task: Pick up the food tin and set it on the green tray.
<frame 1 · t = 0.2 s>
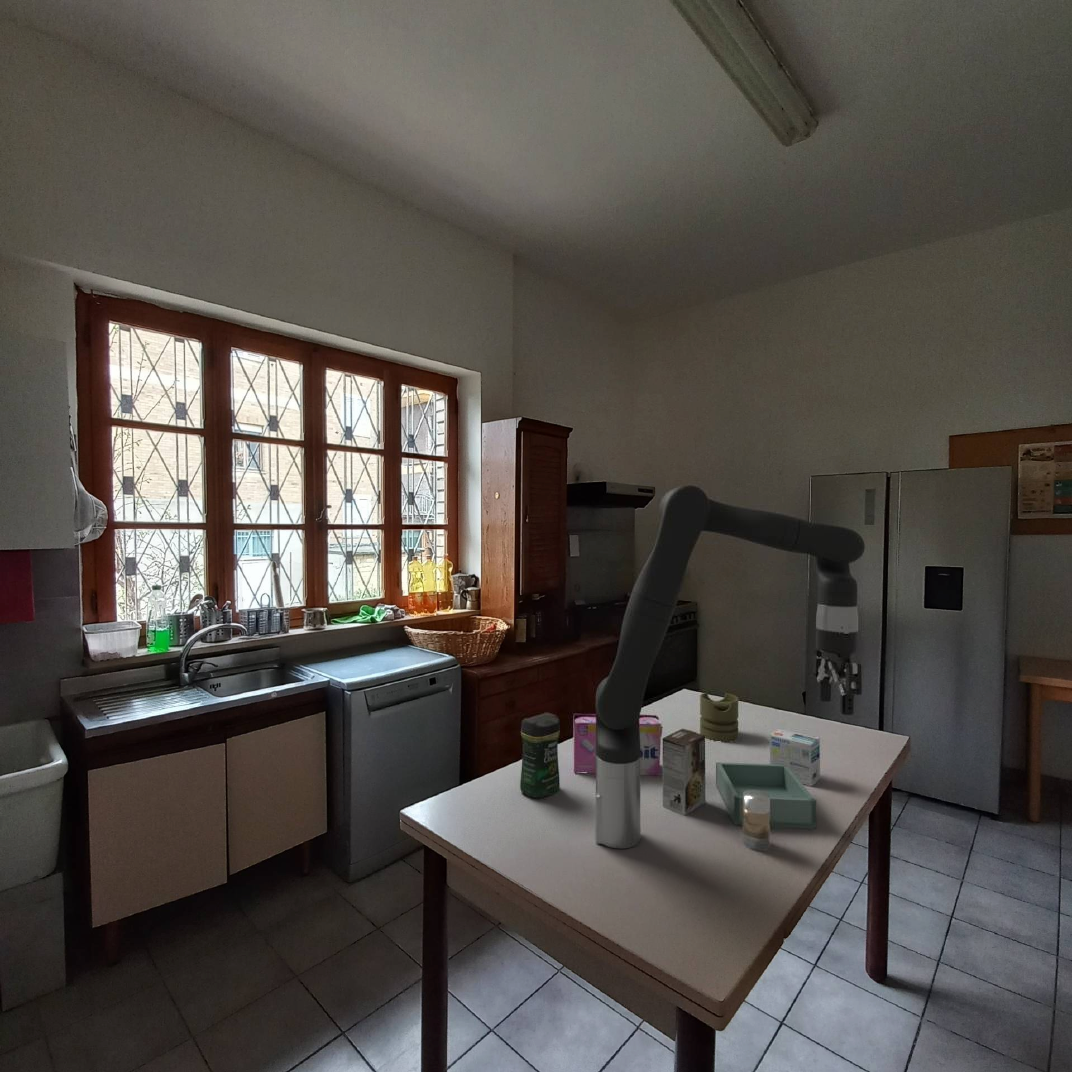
hand: (835, 707, 117), 28 cm above the table, tool pointing down, fingers open, 8 cm apart
piston: (719, 736, 181), on the table
food tin: (756, 844, 119), on the table
gum box: (615, 769, 156), on the table
coffee box: (683, 805, 136), on the table
green tray: (762, 805, 135), on the table
light bulb box: (794, 777, 151), on the table
coffee jar: (540, 791, 143), on the table
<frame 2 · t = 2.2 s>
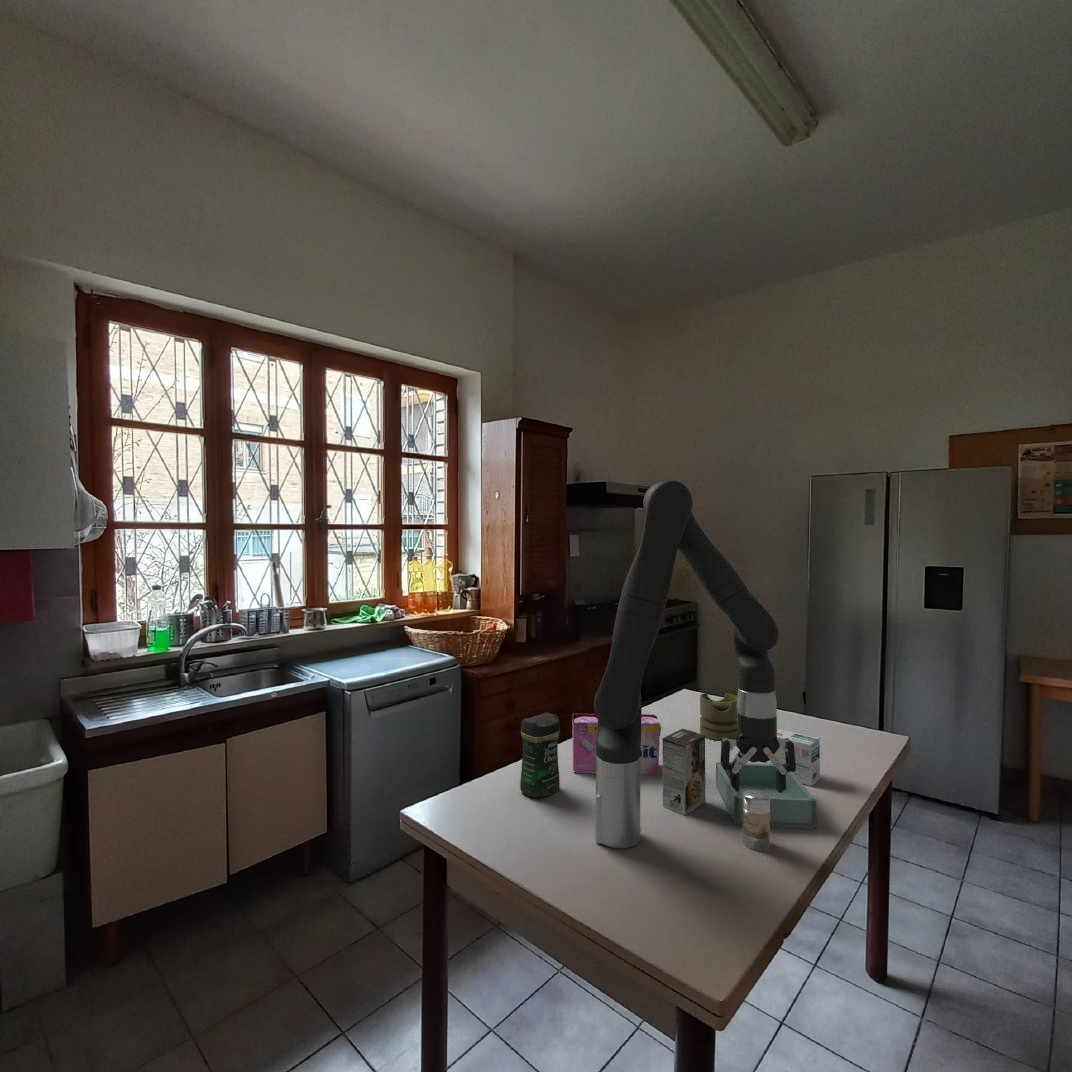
hand: (757, 790, 118), 11 cm above the table, tool pointing down, fingers open, 8 cm apart
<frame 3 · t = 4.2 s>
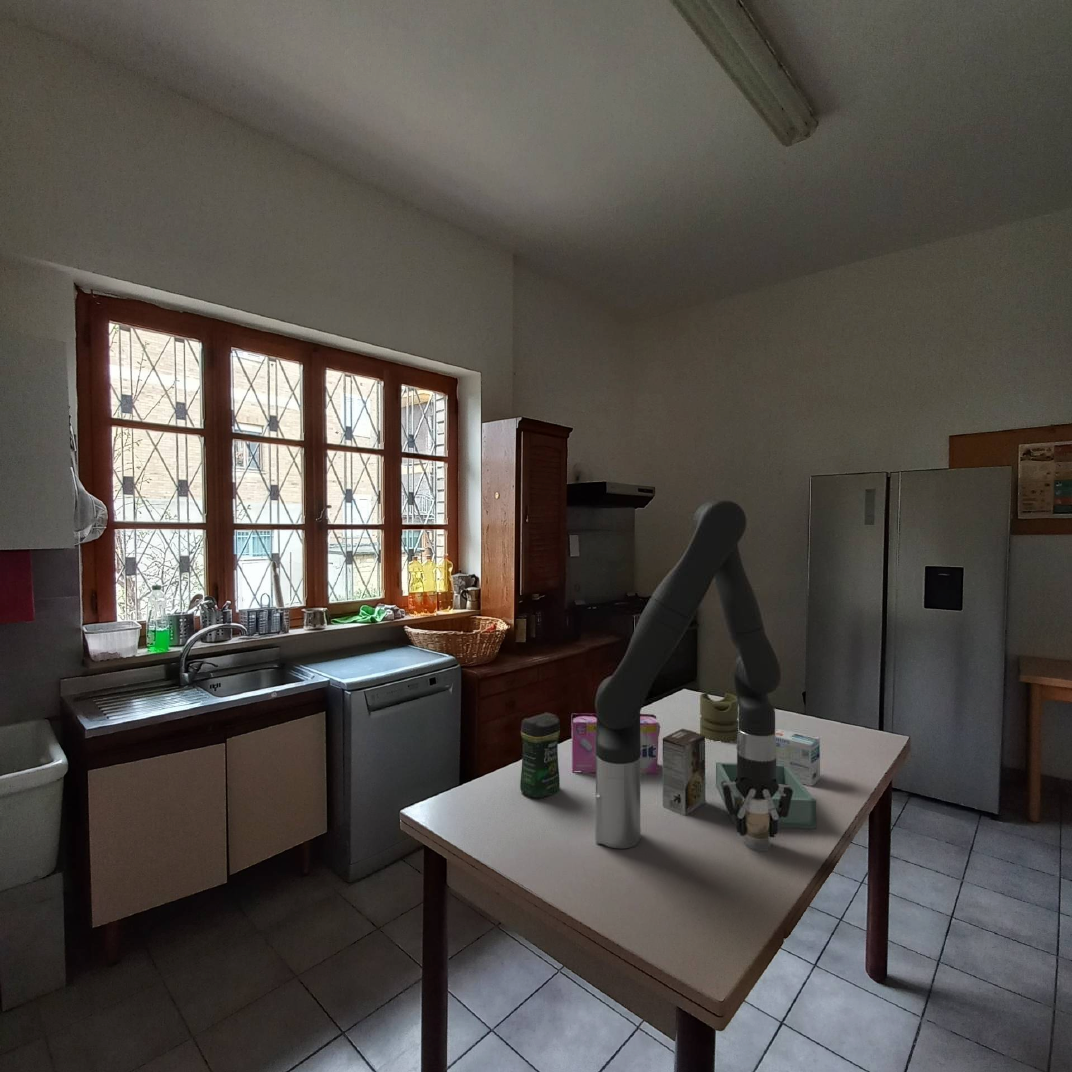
hand: (756, 834, 119), 2 cm above the table, tool pointing down, fingers closed on food tin, 5 cm apart
food tin: (756, 844, 119), on the table, touching gripper
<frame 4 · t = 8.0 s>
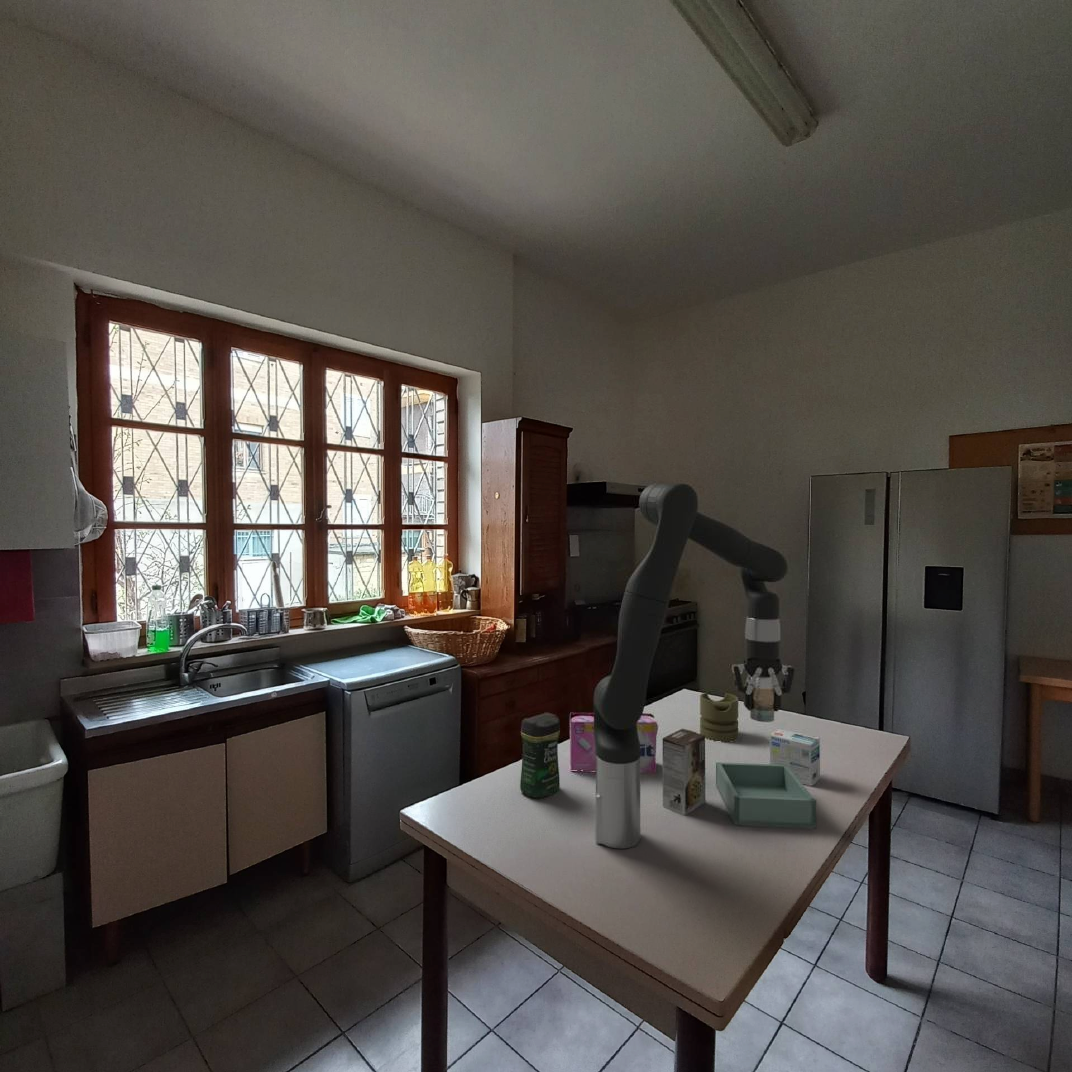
hand: (762, 709, 135), 22 cm above the table, tool pointing down, fingers closed on food tin, 5 cm apart
food tin: (762, 718, 135), point 20 cm above the table, touching gripper
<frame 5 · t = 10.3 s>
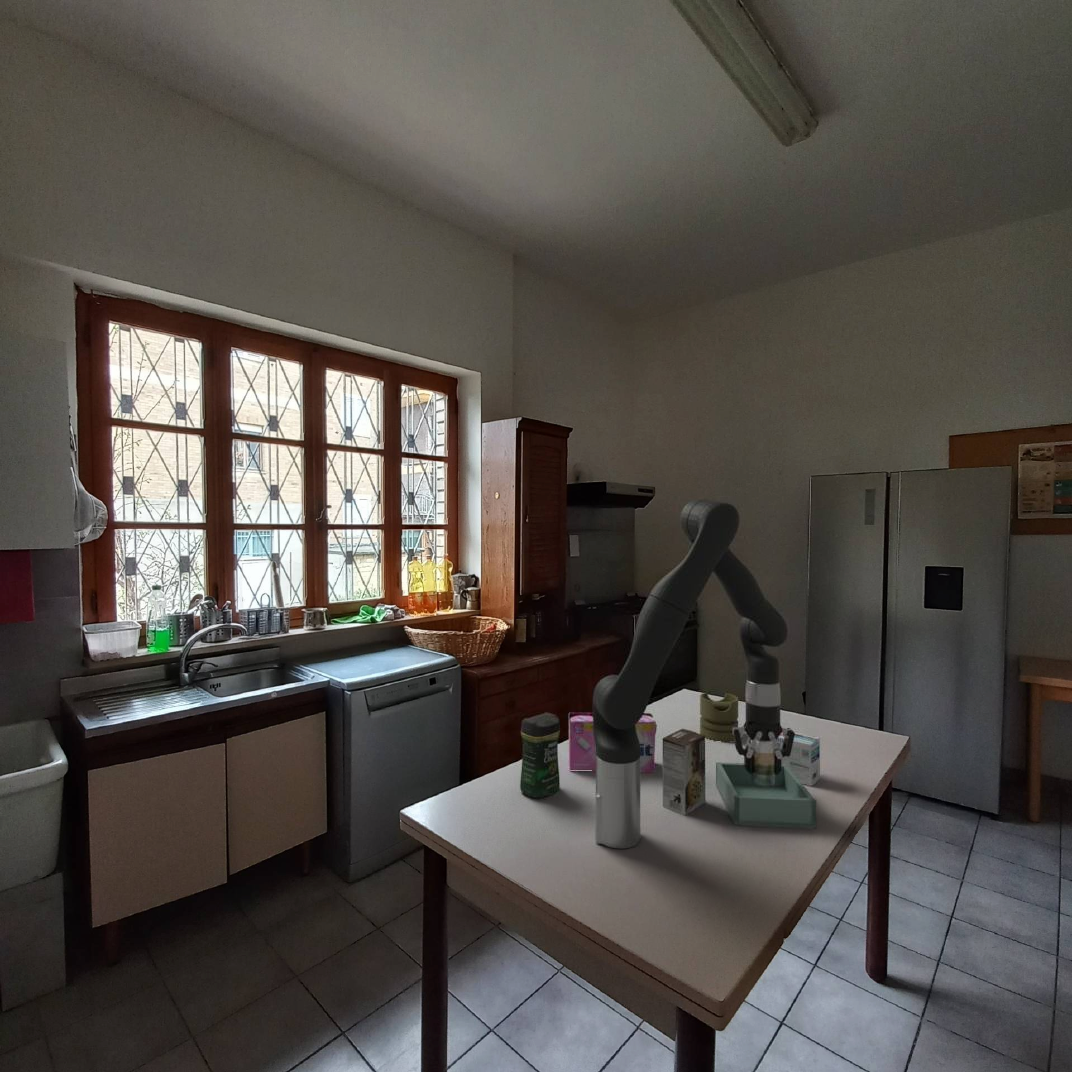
hand: (762, 772, 135), 8 cm above the table, tool pointing down, fingers closed on food tin, 5 cm apart
food tin: (762, 781, 135), point 6 cm above the table, touching gripper
when the fingers open (4 cm above the table, at t = 12.1 s): food tin drops 1 cm, resting on green tray.
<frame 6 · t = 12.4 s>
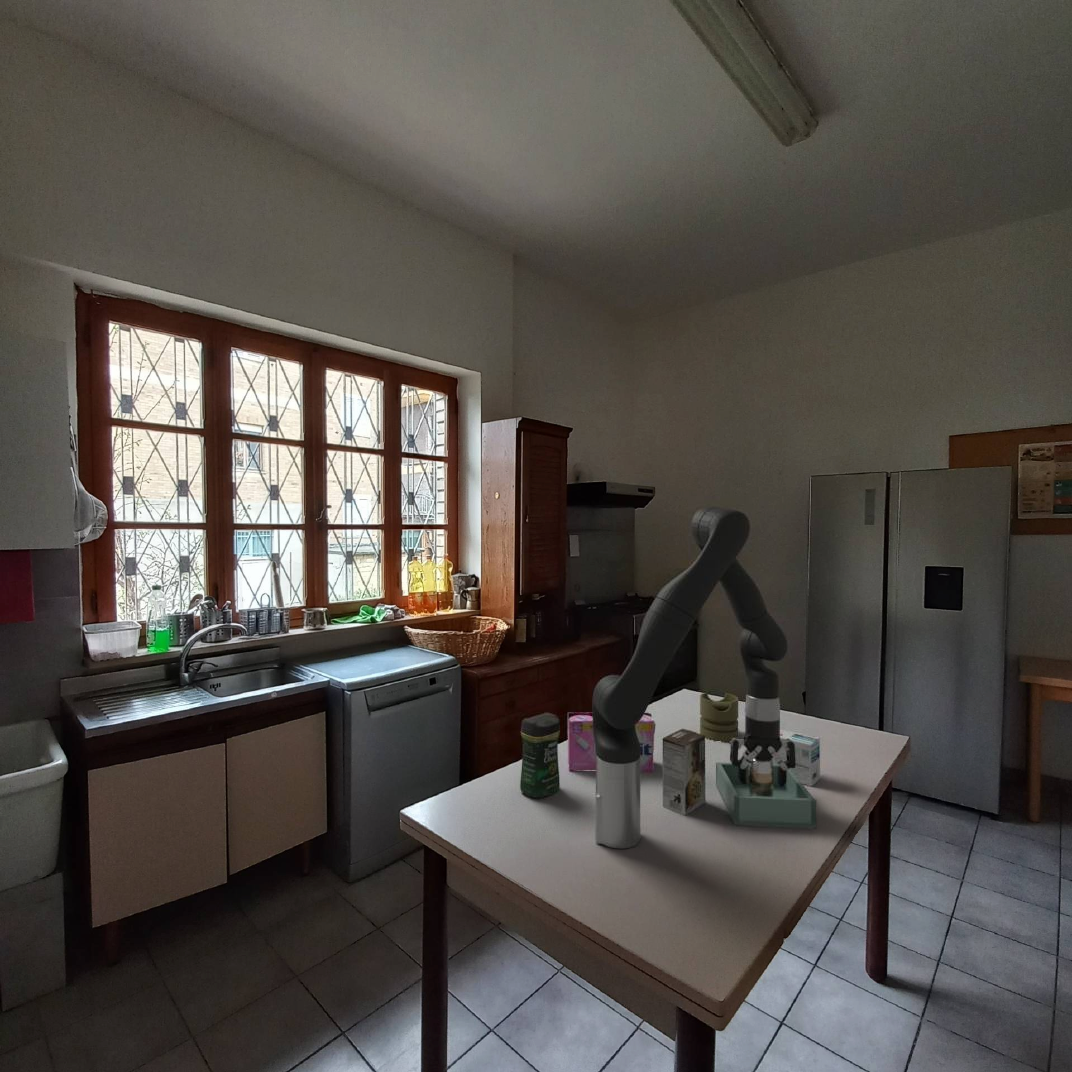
hand: (762, 784, 135), 5 cm above the table, tool pointing down, fingers open, 8 cm apart
food tin: (761, 801, 135), point 1 cm above the table, touching green tray
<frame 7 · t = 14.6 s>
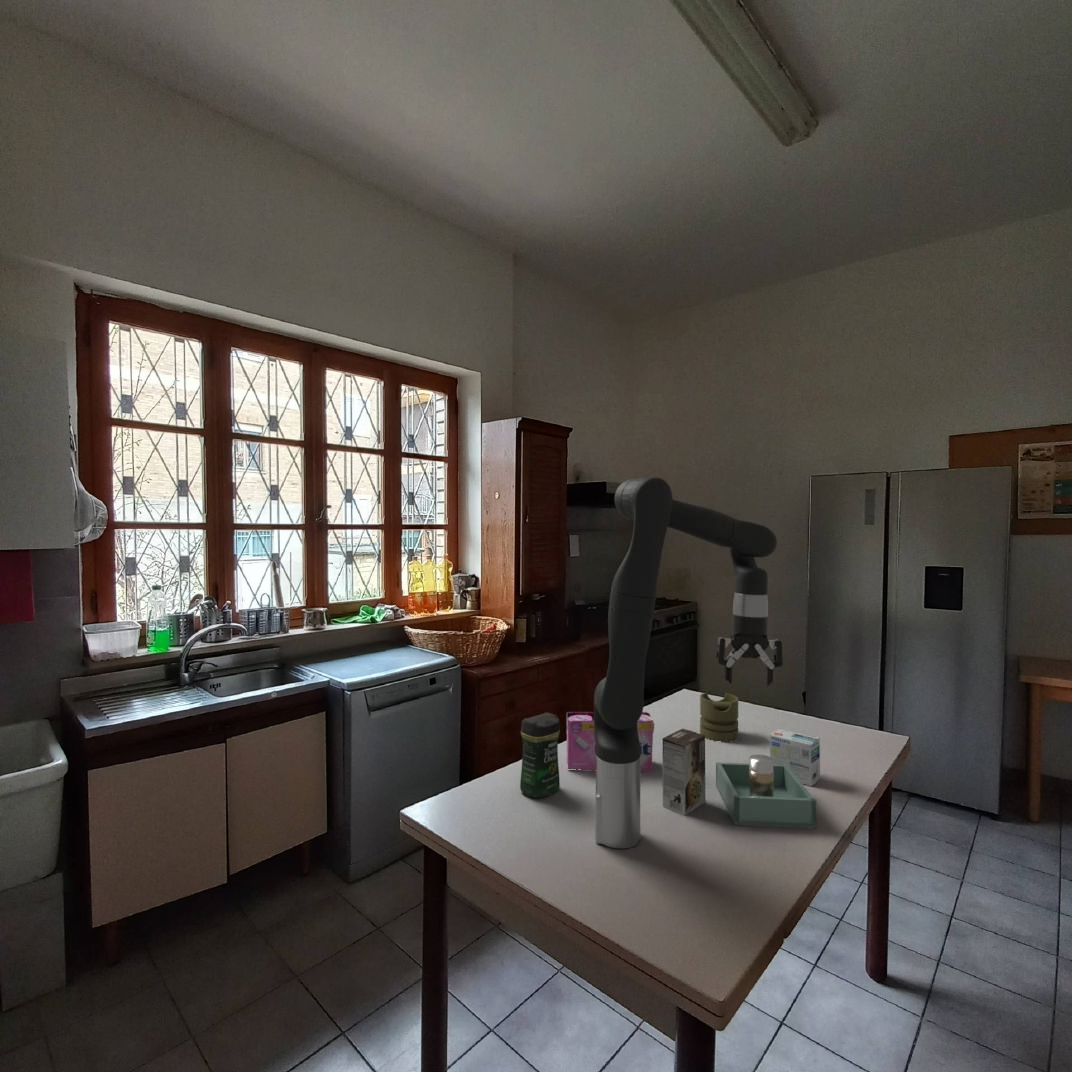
hand: (748, 683, 134), 29 cm above the table, tool pointing down, fingers open, 8 cm apart
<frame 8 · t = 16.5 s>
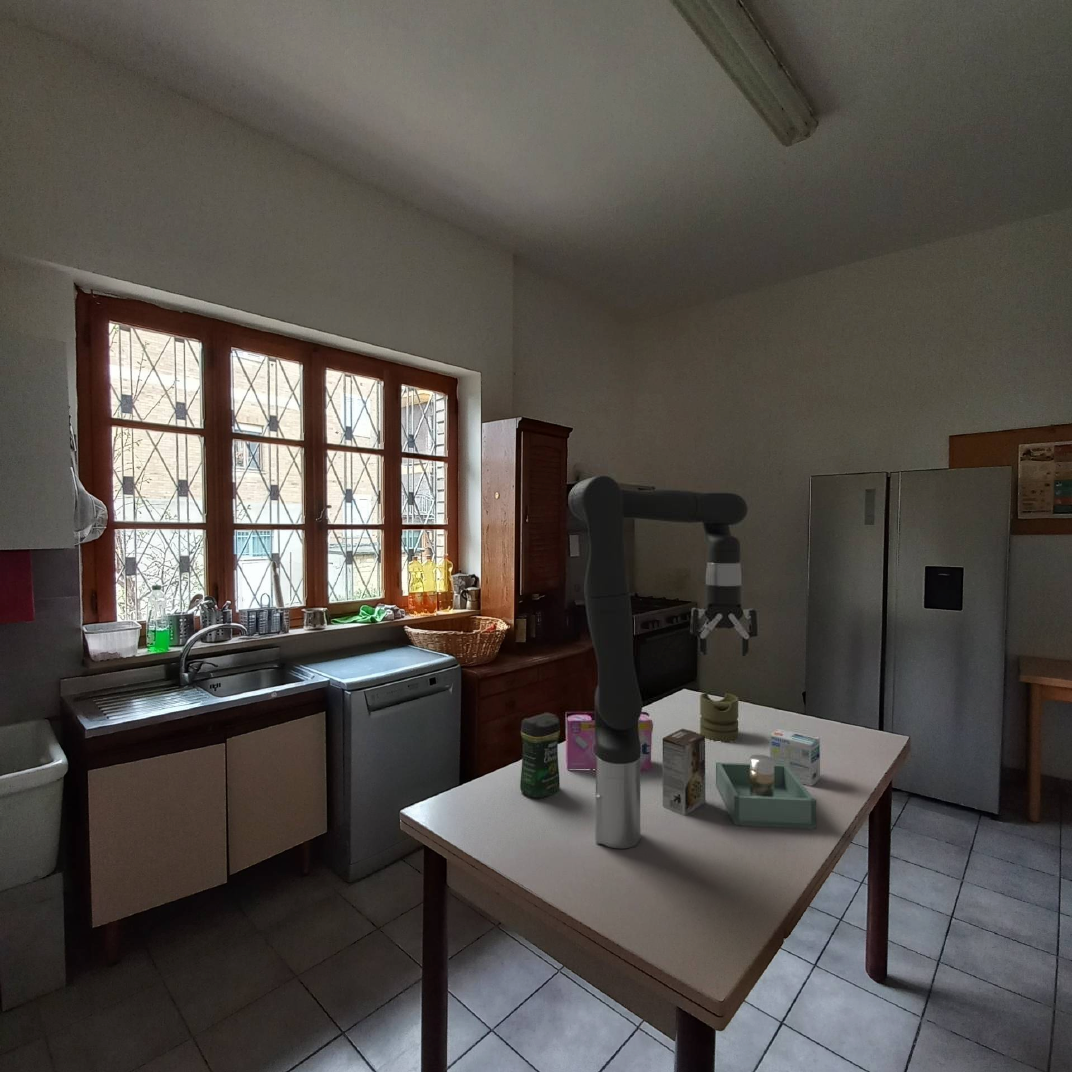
hand: (723, 654, 131), 36 cm above the table, tool pointing down, fingers open, 8 cm apart
at the end: food tin inside the target area on the green tray (0.3 cm from its centre), point 1.0 cm above the green tray's base; food tin tilted 1°; the gripper is holding nothing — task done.
